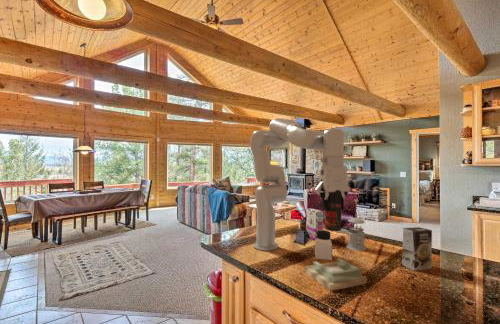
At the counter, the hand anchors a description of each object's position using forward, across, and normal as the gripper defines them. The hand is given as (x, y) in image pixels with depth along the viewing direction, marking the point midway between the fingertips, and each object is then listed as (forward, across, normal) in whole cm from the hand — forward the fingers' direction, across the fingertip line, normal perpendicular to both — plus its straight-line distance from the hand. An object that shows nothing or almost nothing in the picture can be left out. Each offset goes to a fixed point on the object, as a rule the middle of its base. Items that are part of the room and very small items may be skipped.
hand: (332, 209), depth 96 cm
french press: (+26, +34, +25) cm, 49 cm away
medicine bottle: (+26, +10, +20) cm, 34 cm away
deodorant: (+8, 0, 0) cm, 8 cm away
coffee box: (+26, +41, -2) cm, 49 cm away
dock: (+26, +1, 0) cm, 26 cm away
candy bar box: (+26, +22, +46) cm, 57 cm away
